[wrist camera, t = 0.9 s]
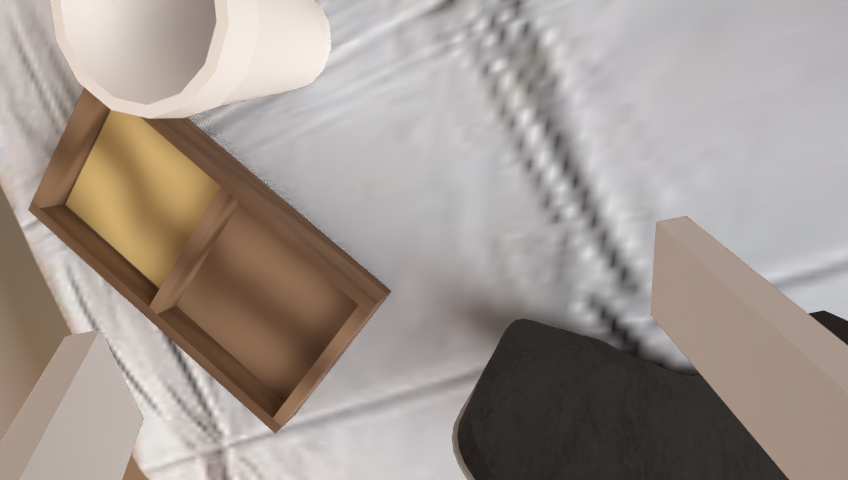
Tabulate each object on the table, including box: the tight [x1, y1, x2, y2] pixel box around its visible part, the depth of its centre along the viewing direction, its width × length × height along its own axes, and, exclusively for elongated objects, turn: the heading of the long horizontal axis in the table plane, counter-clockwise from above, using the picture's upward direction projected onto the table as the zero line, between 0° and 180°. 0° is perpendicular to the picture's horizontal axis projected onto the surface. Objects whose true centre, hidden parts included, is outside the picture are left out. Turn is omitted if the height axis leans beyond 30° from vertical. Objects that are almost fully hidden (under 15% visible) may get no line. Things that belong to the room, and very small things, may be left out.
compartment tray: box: [28, 87, 391, 434], centre depth 42 cm, size 13×24×3 cm, turn 53°
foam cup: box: [50, 0, 331, 119], centre depth 32 cm, size 10×9×13 cm
